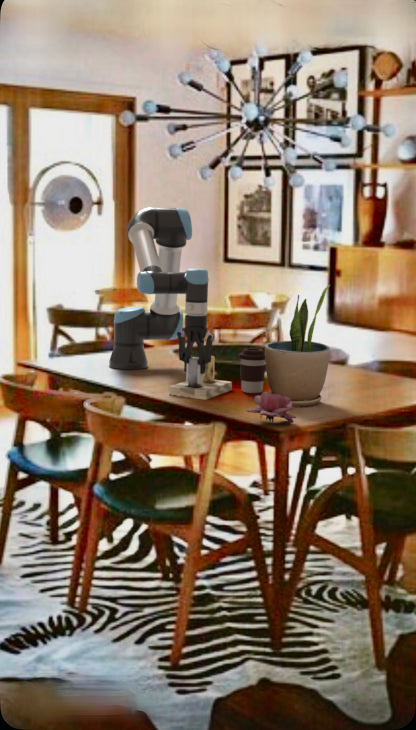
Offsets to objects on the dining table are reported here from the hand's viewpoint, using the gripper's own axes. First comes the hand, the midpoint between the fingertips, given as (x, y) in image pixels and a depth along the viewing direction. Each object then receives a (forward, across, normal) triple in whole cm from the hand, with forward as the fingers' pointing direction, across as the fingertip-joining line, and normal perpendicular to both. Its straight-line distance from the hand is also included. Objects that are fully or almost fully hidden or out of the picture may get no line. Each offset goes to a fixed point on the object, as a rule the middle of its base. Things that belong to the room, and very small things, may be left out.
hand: (194, 382), depth 347 cm
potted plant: (+5, +34, +8) cm, 35 cm away
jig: (+4, 0, +5) cm, 7 cm away
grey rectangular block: (+4, 0, 0) cm, 4 cm away
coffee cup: (+5, +14, +17) cm, 23 cm away
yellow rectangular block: (+4, 0, +10) cm, 11 cm away
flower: (+5, +40, -25) cm, 47 cm away
